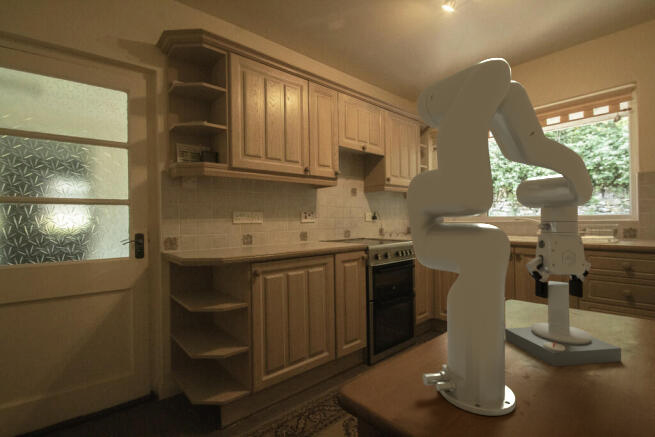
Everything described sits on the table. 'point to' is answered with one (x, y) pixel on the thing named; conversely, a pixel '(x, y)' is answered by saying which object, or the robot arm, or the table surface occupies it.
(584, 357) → the kitchen scale
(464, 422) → the table surface
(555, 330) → the skincare box
